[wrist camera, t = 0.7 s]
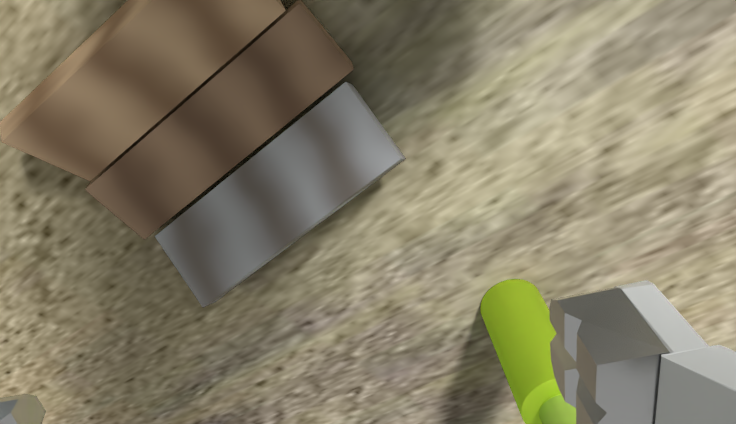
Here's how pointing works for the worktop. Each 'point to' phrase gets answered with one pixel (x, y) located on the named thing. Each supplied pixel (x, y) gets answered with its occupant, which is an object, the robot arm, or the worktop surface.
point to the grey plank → (280, 194)
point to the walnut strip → (222, 121)
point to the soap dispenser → (526, 350)
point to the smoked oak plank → (130, 78)
